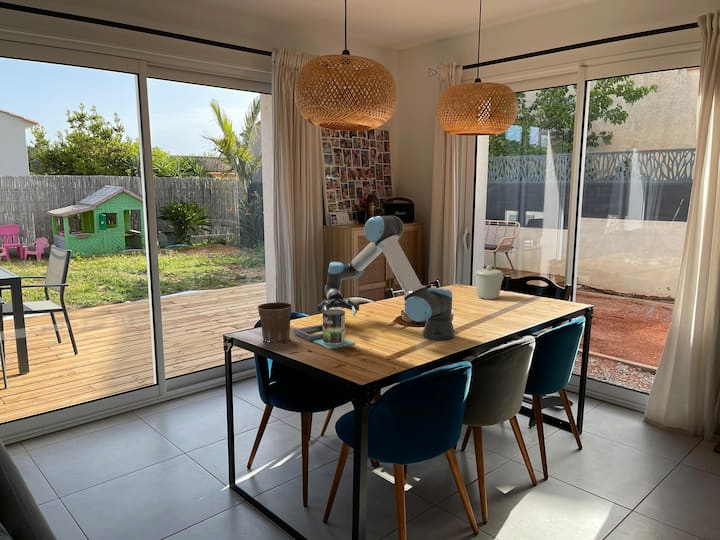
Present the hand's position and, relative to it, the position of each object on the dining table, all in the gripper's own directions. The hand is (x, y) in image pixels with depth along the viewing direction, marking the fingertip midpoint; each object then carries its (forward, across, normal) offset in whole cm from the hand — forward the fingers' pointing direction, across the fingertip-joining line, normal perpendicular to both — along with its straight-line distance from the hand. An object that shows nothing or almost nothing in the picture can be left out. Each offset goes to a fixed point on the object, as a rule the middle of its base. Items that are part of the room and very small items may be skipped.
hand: (340, 314), depth 253 cm
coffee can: (+10, +4, -10) cm, 14 cm away
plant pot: (-1, +30, -13) cm, 33 cm away
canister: (-72, -106, -19) cm, 129 cm away
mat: (+10, +4, -10) cm, 15 cm away
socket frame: (-5, +10, -13) cm, 17 cm away
